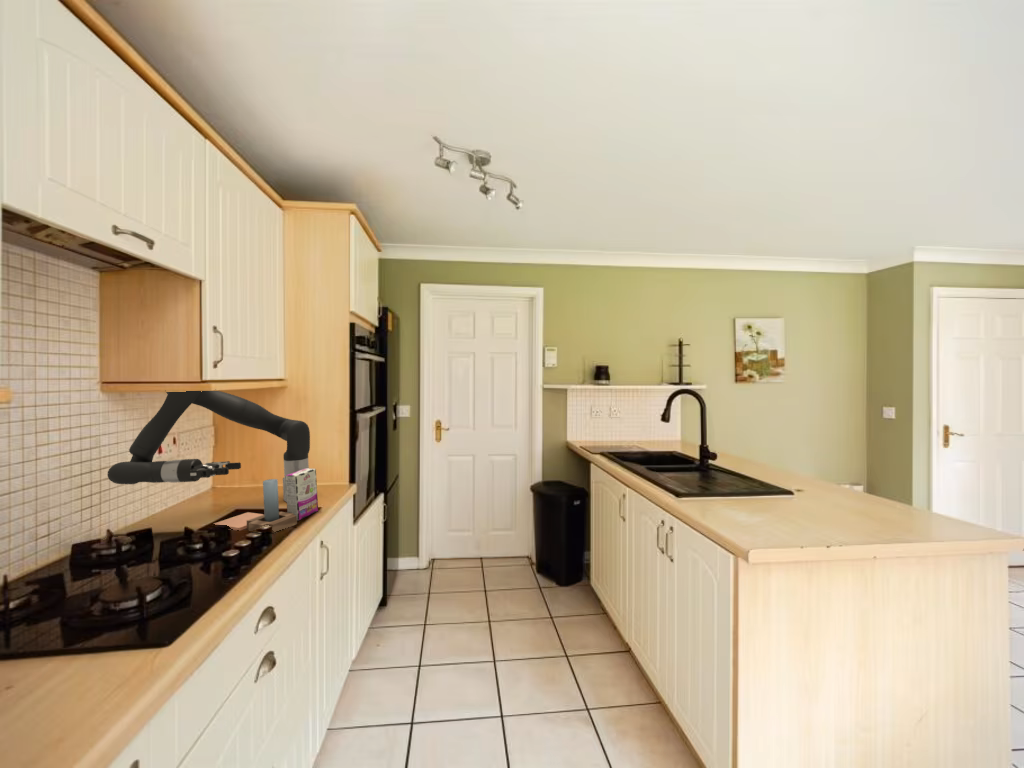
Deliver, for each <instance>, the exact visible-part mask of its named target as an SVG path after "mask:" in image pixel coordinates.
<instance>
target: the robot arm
mask: <svg viewBox="0 0 1024 768" xmlns="http://www.w3.org/2000/svg"><path fill="white" fill-rule="evenodd" d="M165 393H166V397H165V399H164V401H163V403H162V405H161V407H160V408H159V410H158V411H157V412H156V413H155V415H154V416H153V417H152V418H151V419H150V420H149V421H148V422H146V423H147V424H145V426H144V427H143V428H142V429H141V430H140V432H139V433H138V434H137V436H136V438H134V440H133V442H132V444H131V445H130V447H129V449H128V452H129V453H130V454H131V458H130V461H120V462H117V463H115V464H113V465H112V466H111V467H110V468H109V469H108V470H107V478H108V480H109V481H110V482H111V483H113V484H115V485H137V484H139V483H153V484H154V483H156V484H159V483H174V484H175V483H176V484H177V483H192V482H199V480H200V479H203V478H204V479H205V478H207V479H208V478H209V479H210V478H211V477H216V476H225V475H228V474H229V473H230V471H229V470H241V468H242V463H241V462H240V461H239V462H231V461H229V460H226V461H212V462H206V463H204V464H203V462H202V460H201V459H199V458H188V459H187V458H185V459H184V458H183V459H171V460H157V461H156V460H155V461H154V456H155V455H156V453H157V452H158V450H159V448H160V447H161V445H162V444H163V443H164V440H165V439H167V438H166V437H168V435H169V433H170V431H171V430H172V429H173V427H174V426H175V424H176V423H177V421H178V420H180V418H181V416H182V415H183V414H184V412H185V411H186V410H187V409H188V408H189V407H190V406H191V405H196V406H199V407H202V408H205V409H207V410H209V411H211V412H212V413H215V414H216V415H219V416H220V417H223V418H224V419H226V420H229V421H232V422H234V423H236V424H240V425H243V426H246V427H249V428H253V429H257V430H261V431H264V432H267V433H269V434H271V435H274V436H276V437H278V438H279V439H282V440H283V441H285V442H286V451H285V452H284V453H283V476H284V477H283V478H282V492H283V493H282V494H283V501H285V503H287V495H286V479H285V476H286V475H289V474H291V473H294V472H297V471H300V470H303V469H306V468H308V469H309V468H310V465H309V464H310V463H309V453H310V450H311V434H310V433H311V431H310V427H309V425H308V423H306V422H305V421H302V420H297V419H290V418H286V417H283V416H279V415H277V414H275V413H272V412H271V411H269V410H268V409H266V408H265V407H263V406H261V405H259V403H255V402H254V401H251V400H248V399H246V398H243V397H241V396H238V395H235V394H231V393H227V392H224V391H220V390H218V391H202V392H201V391H186V392H166V391H165ZM224 465H225V467H224Z"/></svg>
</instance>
